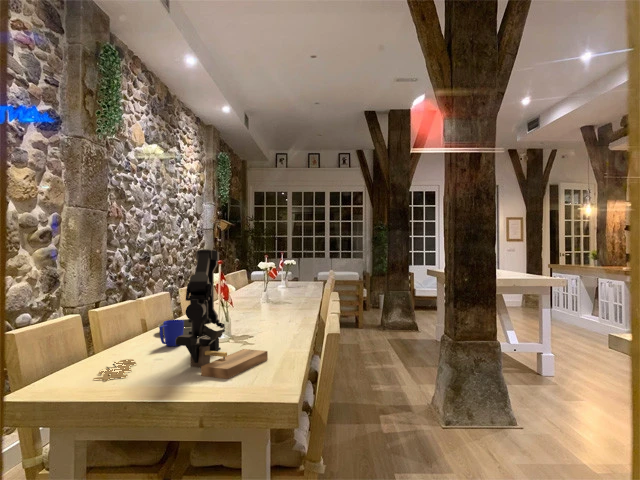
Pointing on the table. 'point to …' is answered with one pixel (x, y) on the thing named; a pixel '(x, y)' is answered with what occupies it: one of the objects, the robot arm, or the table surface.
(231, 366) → the plank
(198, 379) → the table surface
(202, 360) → the mallet
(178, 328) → the mug
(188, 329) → the cake pan
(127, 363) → the lettering
